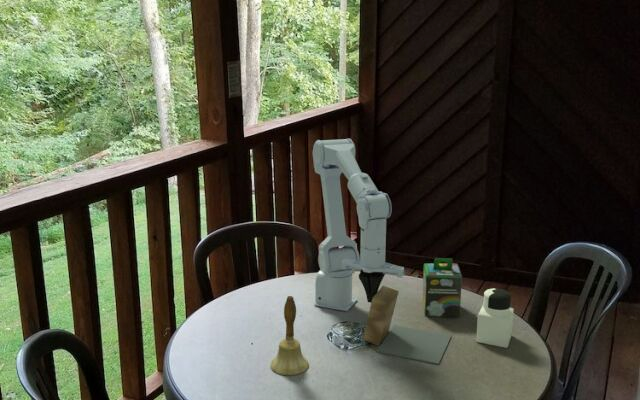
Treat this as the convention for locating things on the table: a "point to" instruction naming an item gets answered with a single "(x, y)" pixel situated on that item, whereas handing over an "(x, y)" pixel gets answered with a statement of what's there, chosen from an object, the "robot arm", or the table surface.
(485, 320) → the medicine bottle
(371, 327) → the tan rectangular block
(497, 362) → the table surface
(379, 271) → the robot arm
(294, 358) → the hand bell
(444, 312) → the chalk box
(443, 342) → the mat
